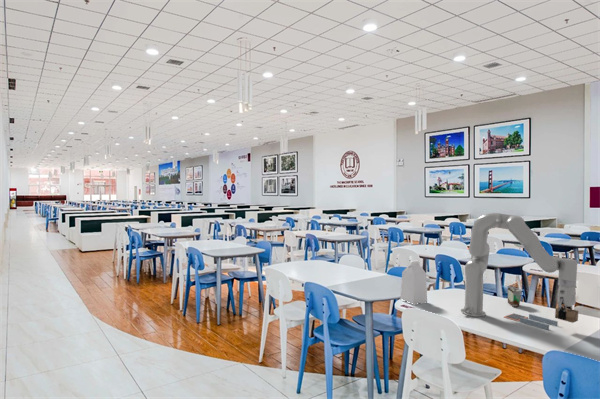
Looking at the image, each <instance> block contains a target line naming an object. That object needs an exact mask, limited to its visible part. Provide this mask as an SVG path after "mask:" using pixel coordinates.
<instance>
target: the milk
mask: <svg viewBox="0 0 600 399" xmlns="http://www.w3.org/2000/svg"><path fill="white" fill-rule="evenodd" d="M427 285H428V283H427V272H426V271H425V270H424V268H422V266H421V265H420V262H419V260H411V261H409V264H408V266H407V267H406V268H404V269H403V270H402V272H401V286H400V300H399V301H401V299H403V300H405V301H408V302H410V303H413V304H416V305H418V304H417V303H421V304H425V303H424V302H427V303H428V288H427Z"/></svg>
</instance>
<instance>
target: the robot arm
mask: <svg viewBox="0 0 600 399" xmlns="http://www.w3.org/2000/svg"><path fill="white" fill-rule="evenodd" d="M495 228H497V229H505V230H508V231H509V232H510V234H512V236H513V237H514V238H515V239H516V240H517V241H518V242H519V243H520V245H522V247H523V248H524V250H525V251H526V252H527V253H528V254H529V256H530V257H531V259H532V260H533V261H534V262H535V264H537V265H538V267H539V268H540V269H541V270H542V271H544V272H546V273H548V274H549V273H555V272H557V271H558V277H557V279H558V280H557V285H558V286H559V287H558V293H557V308H559V309H558V310H559V313H558V318H560V319H559V320H561V319H564V320H565V319H566V312H565V311H566V308H569V309H573V306H574V305H575V304H576V303H577V302H576V300H577V299H576V298H577V296H576V295H577V294H576V292H577V291H576V289H577V288H576V287H577V272H578V261H577V260H576V259H573V258H567V257H566V258H565V257H559V256H553V255H550V254H549V252H548V251H547V250H546V249H545V248H544V246H543V245H542V243H541V241H540V239H539V237H538V236H537V235H536V234H535V233H534V232H533V230H532V229H531V228H530V227H529V226H528V225H527V224H526V221H525V220H524V217H521V216H518V215H512V214H505V213H500V212H490V213H486V214H483V215H481V216H479V217H477V219H475V221H474V223H473V225H472V229H471V236H470V240H469V242H470V243H469V245H468V246H469V247H468V252H469V255H470V260H468V261H467V262H466V264H465V266H464V276H465V279H464V280H465V281H464V284H465V285H464V286H465V287H464V288H465V289H464V290H465V291H464V307H463V308H461V309H460V312H461V313H462V314H463V315H466V316H470V317H477V318H478V317H479V318H483V317H485V316H486V312H485V311H484V310H483V309H484V308H483V307H484V306H483V305H484V273H485V271H487V269H488V264H489V256H490V245H489V243H488V237H489V236H488V235H489V231H490V229H495ZM563 307H564V308H563ZM564 320H563V321H564Z"/></svg>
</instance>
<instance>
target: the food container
mask: <svg viewBox="0 0 600 399" xmlns="http://www.w3.org/2000/svg"><path fill="white" fill-rule="evenodd" d="M506 290H507V304H508V305H509V306H511V307H512V308H519V307H520V303H521V296H522V290H521V289H520V288H516V287H511V286H507V288H506Z"/></svg>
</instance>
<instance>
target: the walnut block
mask: <svg viewBox="0 0 600 399" xmlns="http://www.w3.org/2000/svg"><path fill="white" fill-rule="evenodd" d="M562 307H563V306H562ZM563 308H564V307H563ZM558 309H559V308H558V307H556V308H555V310H554V311H555V313H554V314H555V315H554V319H557V320H561V321H565V322H568V323H572V324H573V323H576V322H578V321H579V310H576V309H573V308H572V309H569V308H566V311H565V312H566V319H565V320H564V319H560V318H558V313H559V310H558Z"/></svg>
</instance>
